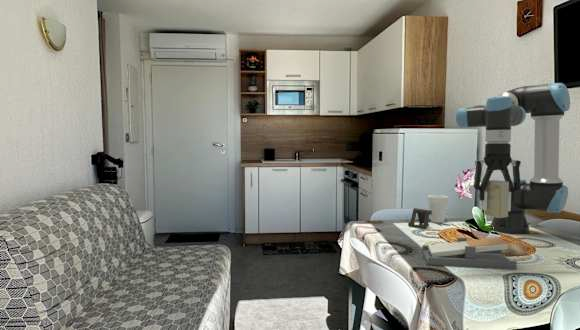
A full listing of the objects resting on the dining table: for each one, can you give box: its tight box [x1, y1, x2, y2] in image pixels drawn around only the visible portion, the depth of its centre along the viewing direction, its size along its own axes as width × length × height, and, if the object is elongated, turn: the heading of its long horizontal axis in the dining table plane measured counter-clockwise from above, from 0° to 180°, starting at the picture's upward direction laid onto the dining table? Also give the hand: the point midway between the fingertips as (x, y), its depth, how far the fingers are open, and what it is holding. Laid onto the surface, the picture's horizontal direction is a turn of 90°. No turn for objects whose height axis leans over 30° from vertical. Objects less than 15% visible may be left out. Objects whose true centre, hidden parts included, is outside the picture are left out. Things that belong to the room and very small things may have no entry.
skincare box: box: [483, 179, 509, 218], centre depth 126 cm, size 6×4×12 cm
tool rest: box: [502, 242, 528, 256], centre depth 139 cm, size 12×12×2 cm
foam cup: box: [427, 194, 449, 224], centre depth 190 cm, size 10×9×13 cm
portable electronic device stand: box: [407, 207, 432, 230], centre depth 179 cm, size 9×8×8 cm
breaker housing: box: [421, 236, 517, 270], centre depth 130 cm, size 27×15×6 cm, turn 78°
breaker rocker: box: [427, 236, 508, 257], centre depth 129 cm, size 24×9×2 cm, turn 78°
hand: (496, 210), depth 126 cm, fingers closed on skincare box, 7 cm apart
